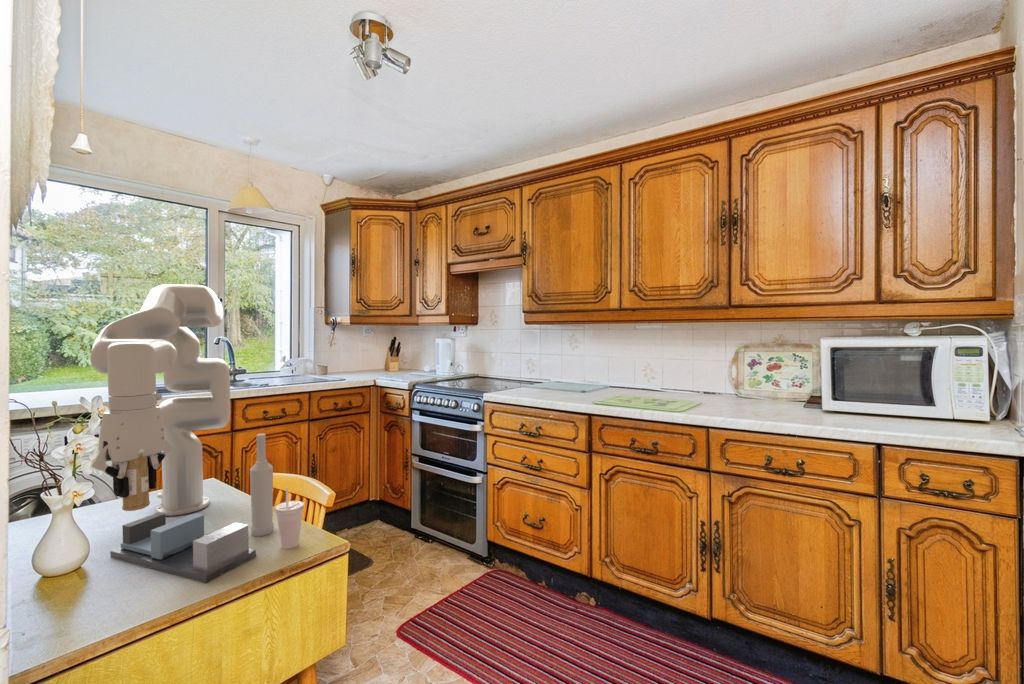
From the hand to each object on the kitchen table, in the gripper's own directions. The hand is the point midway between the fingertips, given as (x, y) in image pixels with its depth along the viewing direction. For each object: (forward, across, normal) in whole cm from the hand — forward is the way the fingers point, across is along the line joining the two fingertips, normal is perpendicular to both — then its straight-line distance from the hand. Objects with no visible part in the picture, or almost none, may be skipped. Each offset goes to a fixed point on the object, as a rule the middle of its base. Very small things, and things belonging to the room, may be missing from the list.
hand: (135, 491), depth 97 cm
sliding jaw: (+17, -10, -9) cm, 22 cm away
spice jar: (+4, 0, 0) cm, 4 cm away
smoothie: (+19, -24, +16) cm, 34 cm away
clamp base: (+19, -10, -2) cm, 22 cm away
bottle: (+19, -26, +4) cm, 33 cm away
